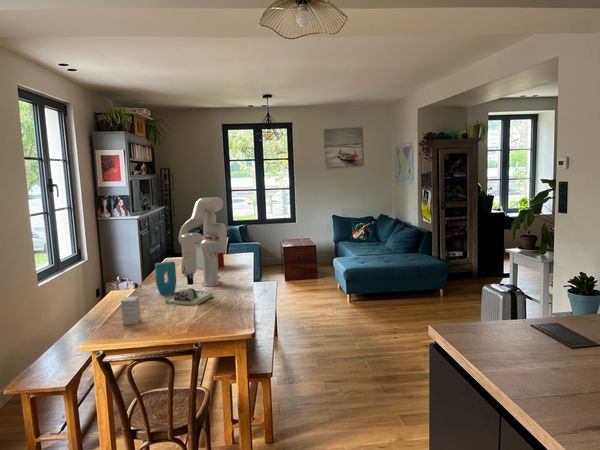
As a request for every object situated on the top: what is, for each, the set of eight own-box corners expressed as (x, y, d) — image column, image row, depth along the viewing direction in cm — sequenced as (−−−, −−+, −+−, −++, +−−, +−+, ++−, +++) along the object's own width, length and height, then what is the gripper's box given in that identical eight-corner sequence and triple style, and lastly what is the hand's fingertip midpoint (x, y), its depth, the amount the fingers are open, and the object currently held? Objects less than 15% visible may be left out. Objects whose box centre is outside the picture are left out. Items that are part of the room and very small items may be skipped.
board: (182, 294, 280) (182, 291, 280) (212, 296, 274) (212, 292, 274) (165, 303, 262) (165, 299, 262) (196, 305, 256) (196, 301, 256)
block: (158, 295, 280) (156, 264, 278) (156, 294, 284) (154, 263, 282) (177, 292, 286) (175, 262, 284) (175, 290, 291) (173, 261, 288)
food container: (199, 286, 268) (190, 291, 258) (200, 296, 268) (191, 301, 259) (181, 286, 271) (172, 290, 262) (182, 295, 272) (173, 300, 262)
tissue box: (224, 266, 365) (223, 234, 362) (209, 270, 350) (207, 237, 347) (210, 265, 373) (208, 233, 370) (194, 269, 359) (192, 236, 356)
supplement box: (126, 320, 233) (124, 296, 232) (141, 319, 234) (139, 296, 232) (122, 324, 226) (120, 300, 224) (137, 323, 226) (135, 299, 225)
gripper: (189, 252, 276) (191, 281, 278) (176, 257, 261) (178, 287, 264) (200, 252, 273) (202, 281, 275) (187, 257, 259) (189, 287, 261)
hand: (190, 284), depth 270 cm, fingers closed
